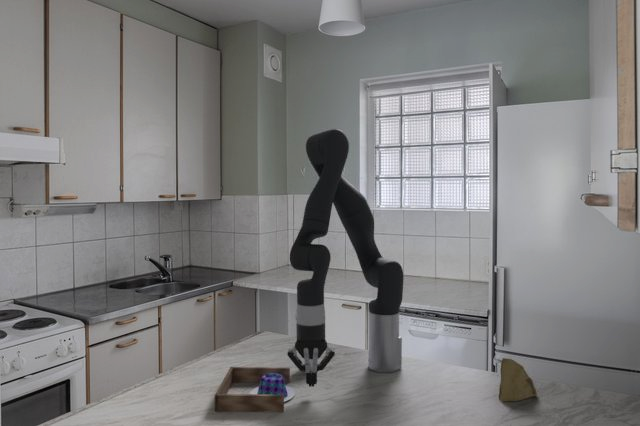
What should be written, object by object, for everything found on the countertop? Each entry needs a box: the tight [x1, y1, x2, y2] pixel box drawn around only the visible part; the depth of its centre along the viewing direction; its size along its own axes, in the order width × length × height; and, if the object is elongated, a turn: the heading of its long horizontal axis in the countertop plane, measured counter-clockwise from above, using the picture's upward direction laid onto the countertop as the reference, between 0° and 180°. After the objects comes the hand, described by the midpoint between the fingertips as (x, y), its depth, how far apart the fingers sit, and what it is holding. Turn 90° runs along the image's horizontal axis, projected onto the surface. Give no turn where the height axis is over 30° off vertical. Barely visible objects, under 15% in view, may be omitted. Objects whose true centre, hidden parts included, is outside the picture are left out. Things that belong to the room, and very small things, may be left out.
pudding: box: [249, 373, 296, 403], centre depth 125 cm, size 12×12×5 cm
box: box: [214, 366, 291, 413], centre depth 125 cm, size 17×19×4 cm
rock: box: [498, 357, 538, 403], centre depth 124 cm, size 11×9×10 cm
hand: (311, 385), depth 125 cm, fingers closed
